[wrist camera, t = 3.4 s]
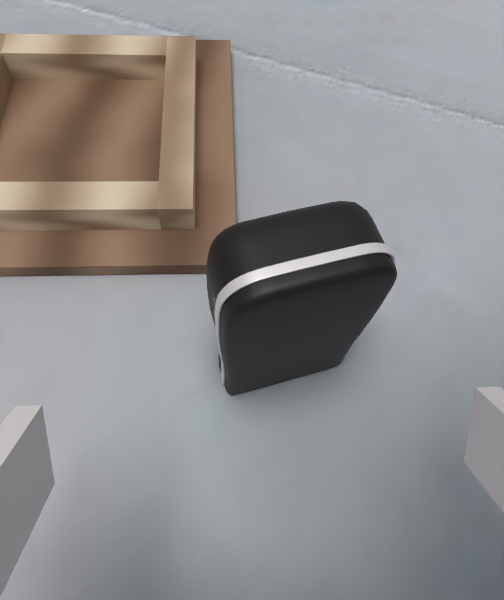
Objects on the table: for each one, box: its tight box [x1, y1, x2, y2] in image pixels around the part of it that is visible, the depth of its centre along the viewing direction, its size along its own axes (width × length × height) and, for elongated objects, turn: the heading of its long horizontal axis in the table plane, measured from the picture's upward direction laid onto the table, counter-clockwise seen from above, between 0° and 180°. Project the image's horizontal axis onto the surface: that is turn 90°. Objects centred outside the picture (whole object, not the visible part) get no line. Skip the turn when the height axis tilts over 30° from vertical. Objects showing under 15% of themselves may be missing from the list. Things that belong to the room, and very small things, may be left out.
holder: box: [0, 34, 236, 276], centre depth 31 cm, size 20×20×3 cm
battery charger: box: [207, 201, 397, 395], centre depth 22 cm, size 7×4×11 cm, turn 107°
